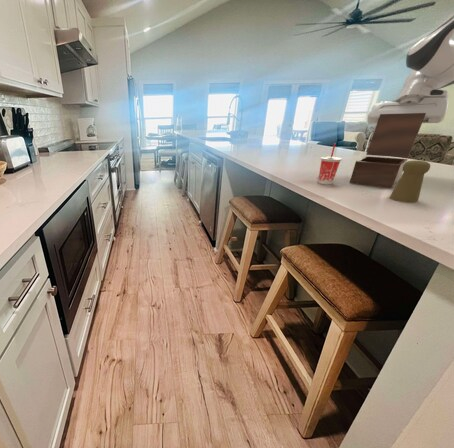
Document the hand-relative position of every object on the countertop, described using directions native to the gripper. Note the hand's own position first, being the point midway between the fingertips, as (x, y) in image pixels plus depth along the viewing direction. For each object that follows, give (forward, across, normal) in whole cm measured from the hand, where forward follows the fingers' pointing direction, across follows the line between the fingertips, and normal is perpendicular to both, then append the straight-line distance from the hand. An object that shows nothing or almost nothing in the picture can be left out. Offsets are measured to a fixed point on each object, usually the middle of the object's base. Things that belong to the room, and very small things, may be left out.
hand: (396, 130), depth 86 cm
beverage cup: (+28, -12, -3) cm, 30 cm away
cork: (+32, +10, -8) cm, 34 cm away
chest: (+19, 0, +5) cm, 20 cm away
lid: (+3, 0, -1) cm, 3 cm away
